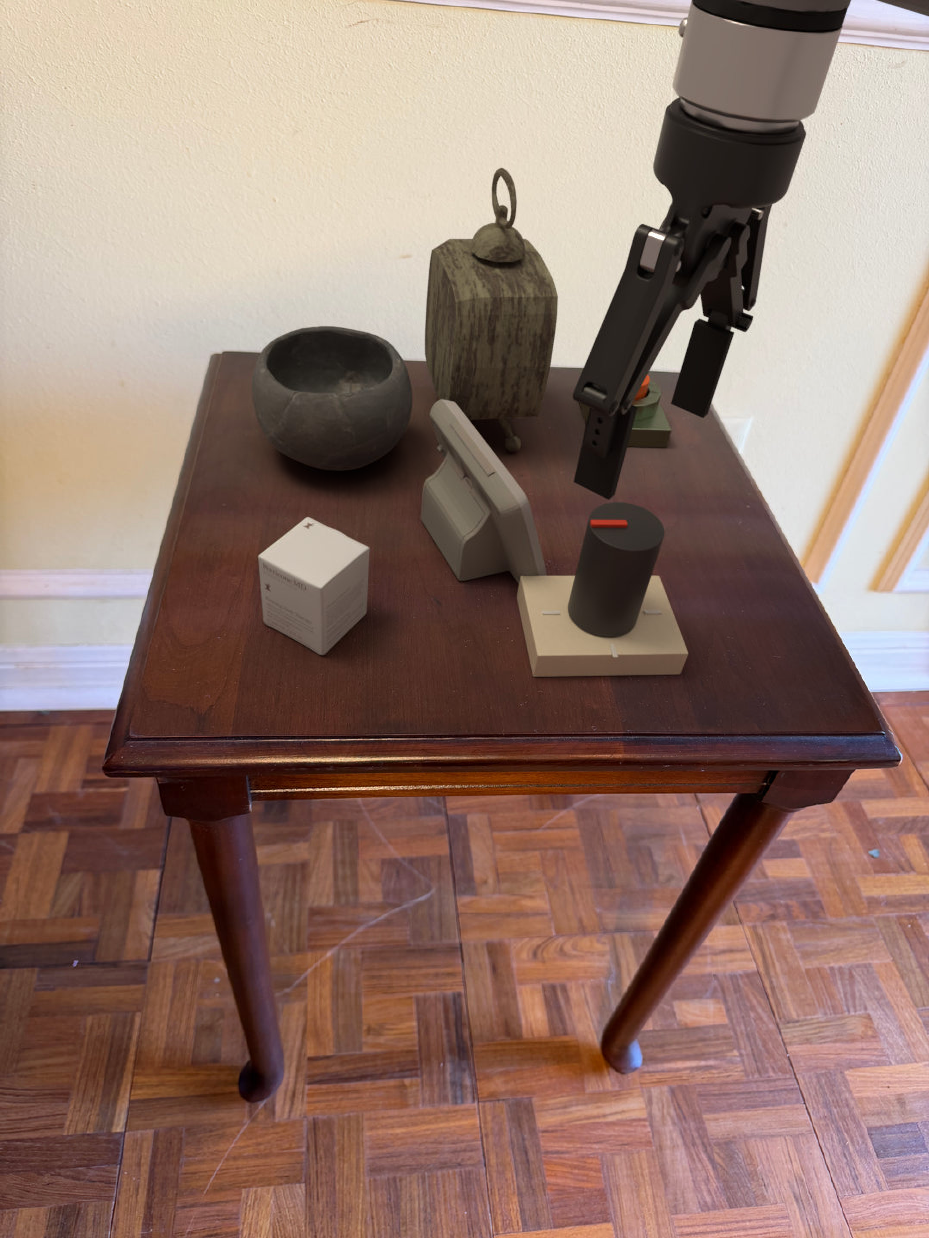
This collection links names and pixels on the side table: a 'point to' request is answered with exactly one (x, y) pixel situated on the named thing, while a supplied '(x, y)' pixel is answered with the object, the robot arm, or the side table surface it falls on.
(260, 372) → the bowl
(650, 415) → the button block
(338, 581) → the product box
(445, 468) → the digital clock
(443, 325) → the tabletop clock
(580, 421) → the side table surface
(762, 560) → the side table surface
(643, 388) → the push button
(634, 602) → the dial
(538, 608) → the dial panel
